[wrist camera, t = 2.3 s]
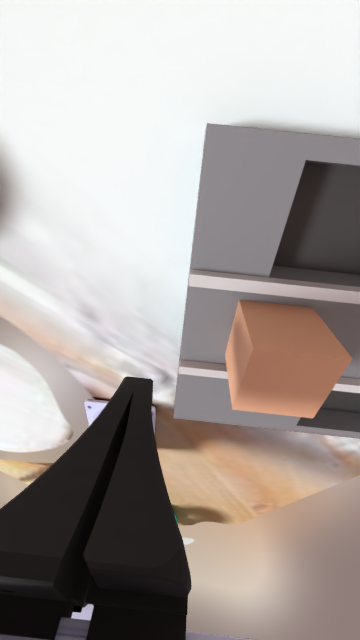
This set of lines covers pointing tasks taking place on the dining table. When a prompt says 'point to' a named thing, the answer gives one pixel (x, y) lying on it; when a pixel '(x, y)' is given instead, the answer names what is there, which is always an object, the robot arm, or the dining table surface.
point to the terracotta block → (282, 359)
